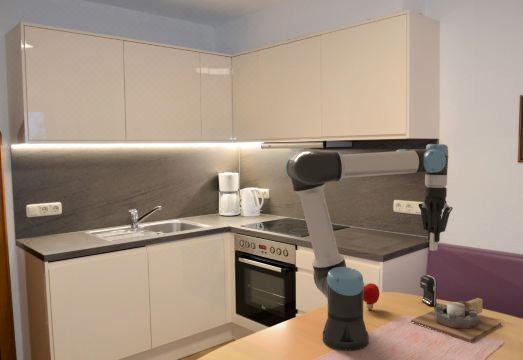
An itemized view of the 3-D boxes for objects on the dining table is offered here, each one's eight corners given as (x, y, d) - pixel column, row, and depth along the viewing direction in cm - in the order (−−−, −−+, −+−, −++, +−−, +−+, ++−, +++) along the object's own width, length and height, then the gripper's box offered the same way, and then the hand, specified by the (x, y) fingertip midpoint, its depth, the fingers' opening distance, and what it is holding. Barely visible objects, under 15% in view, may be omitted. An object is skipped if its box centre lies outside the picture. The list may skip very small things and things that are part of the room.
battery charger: (418, 301, 187) (419, 274, 186) (427, 300, 188) (427, 273, 187) (428, 307, 180) (428, 279, 180) (437, 306, 181) (437, 278, 180)
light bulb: (367, 304, 185) (367, 280, 184) (383, 308, 180) (383, 283, 179) (356, 311, 177) (356, 286, 177) (372, 315, 173) (372, 289, 172)
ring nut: (462, 331, 154) (462, 316, 153) (426, 318, 165) (427, 305, 165) (497, 317, 166) (498, 303, 165) (462, 306, 177) (462, 293, 177)
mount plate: (470, 342, 148) (470, 321, 147) (411, 322, 165) (411, 303, 165) (501, 325, 161) (501, 305, 161) (443, 308, 179) (444, 291, 178)
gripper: (458, 187, 162) (455, 252, 164) (426, 184, 173) (424, 245, 175) (445, 188, 158) (443, 254, 160) (414, 185, 169) (412, 247, 171)
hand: (433, 249), depth 167 cm, fingers closed
